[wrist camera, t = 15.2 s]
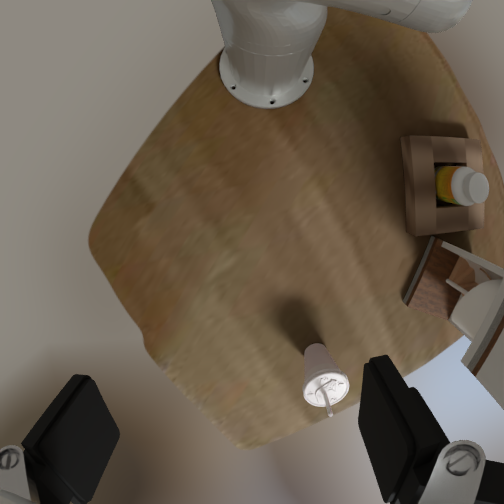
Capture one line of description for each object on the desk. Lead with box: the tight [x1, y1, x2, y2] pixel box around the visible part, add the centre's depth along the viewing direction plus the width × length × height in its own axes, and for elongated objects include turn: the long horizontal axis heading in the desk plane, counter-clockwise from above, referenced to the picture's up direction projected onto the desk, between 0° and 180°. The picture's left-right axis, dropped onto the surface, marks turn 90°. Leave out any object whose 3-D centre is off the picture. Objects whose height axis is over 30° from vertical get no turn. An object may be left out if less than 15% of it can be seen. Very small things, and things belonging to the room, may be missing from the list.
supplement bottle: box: [434, 166, 489, 206], centre depth 34 cm, size 5×5×10 cm
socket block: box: [400, 135, 484, 236], centre depth 37 cm, size 14×14×3 cm
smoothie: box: [303, 343, 349, 417], centre depth 39 cm, size 6×6×14 cm
